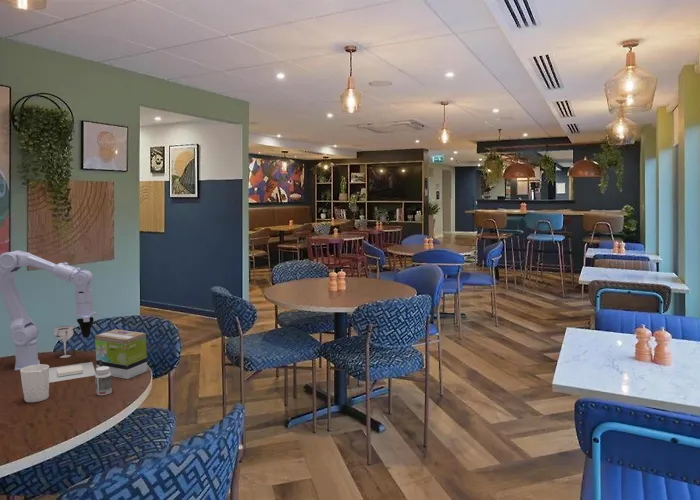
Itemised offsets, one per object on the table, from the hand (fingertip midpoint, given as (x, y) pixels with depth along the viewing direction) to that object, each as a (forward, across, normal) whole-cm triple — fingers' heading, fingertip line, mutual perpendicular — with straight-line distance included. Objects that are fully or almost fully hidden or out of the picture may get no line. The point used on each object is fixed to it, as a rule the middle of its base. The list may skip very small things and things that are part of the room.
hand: (86, 336), depth 204 cm
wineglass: (+11, +14, +7) cm, 19 cm away
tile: (+9, -7, +6) cm, 13 cm away
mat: (+10, -9, +6) cm, 15 cm away
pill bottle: (+11, -38, -2) cm, 40 cm away
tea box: (+11, -19, -10) cm, 24 cm away
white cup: (+11, -32, +17) cm, 38 cm away
